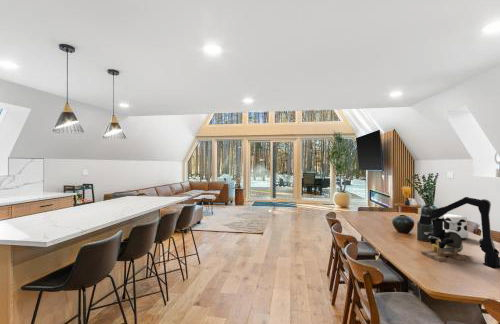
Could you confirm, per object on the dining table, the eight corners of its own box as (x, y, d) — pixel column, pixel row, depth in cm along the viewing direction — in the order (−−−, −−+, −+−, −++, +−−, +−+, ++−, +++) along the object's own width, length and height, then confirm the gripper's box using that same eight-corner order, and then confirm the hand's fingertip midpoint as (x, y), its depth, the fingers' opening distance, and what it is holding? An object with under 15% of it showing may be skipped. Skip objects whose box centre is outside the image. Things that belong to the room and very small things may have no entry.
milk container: (459, 235, 227) (459, 214, 227) (473, 240, 210) (473, 218, 210) (438, 234, 230) (437, 213, 230) (450, 239, 213) (450, 217, 213)
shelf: (466, 259, 167) (466, 249, 168) (438, 261, 165) (438, 250, 165) (447, 252, 181) (447, 242, 181) (421, 253, 179) (421, 243, 179)
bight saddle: (444, 252, 175) (444, 245, 175) (438, 253, 174) (438, 246, 174) (437, 250, 180) (437, 243, 180) (432, 250, 180) (432, 243, 180)
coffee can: (462, 239, 182) (461, 232, 173) (463, 254, 178) (462, 248, 168) (444, 237, 188) (442, 230, 179) (444, 251, 184) (442, 245, 175)
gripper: (461, 230, 169) (461, 254, 169) (437, 223, 188) (437, 245, 187) (445, 230, 168) (445, 255, 168) (423, 224, 186) (423, 246, 186)
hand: (438, 250), depth 177 cm, fingers closed on bight saddle, 5 cm apart
